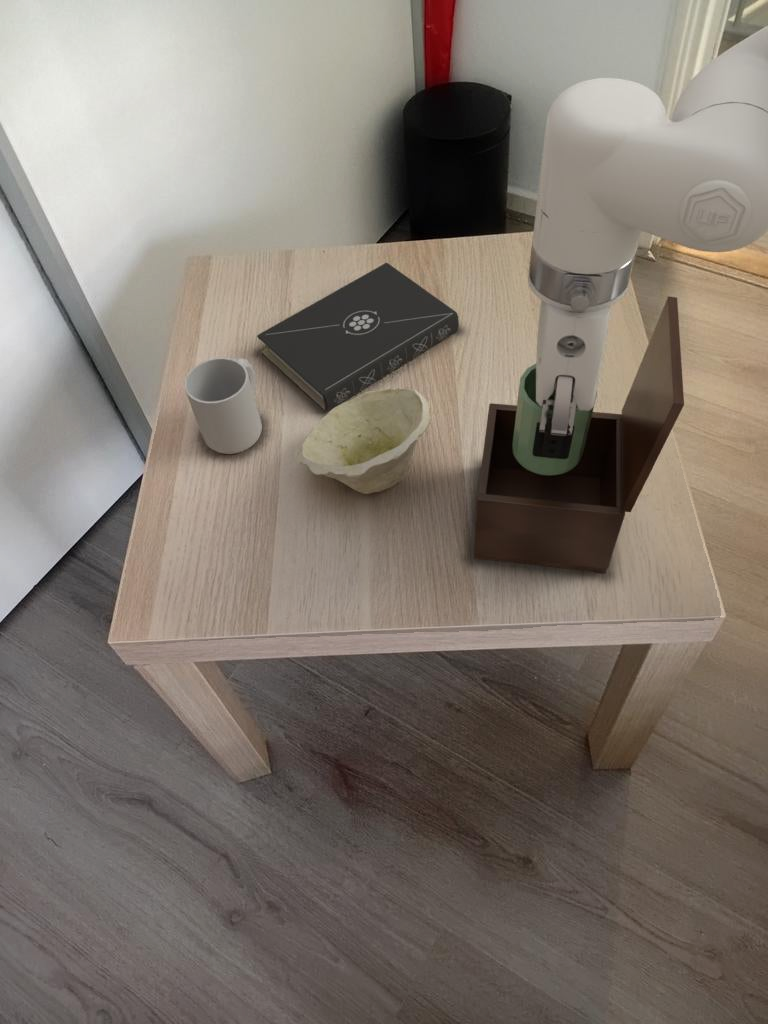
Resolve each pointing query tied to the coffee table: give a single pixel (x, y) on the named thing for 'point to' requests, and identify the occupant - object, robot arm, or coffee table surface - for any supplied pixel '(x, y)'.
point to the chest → (550, 500)
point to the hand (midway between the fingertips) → (552, 423)
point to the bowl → (368, 439)
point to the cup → (225, 403)
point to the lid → (652, 404)
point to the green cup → (526, 428)
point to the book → (357, 335)
